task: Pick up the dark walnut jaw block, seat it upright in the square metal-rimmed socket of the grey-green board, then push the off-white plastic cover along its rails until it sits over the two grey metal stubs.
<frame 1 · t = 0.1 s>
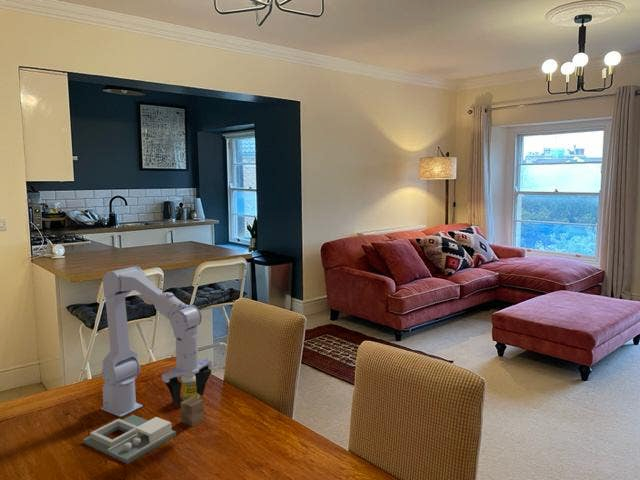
hand: (188, 398, 138), 10 cm above the table, fingers open, 7 cm apart
cover: (153, 429, 136), point 2 cm above the table, slide at 7.0 cm
housing board: (130, 438, 136), on the table
jaw block: (192, 420, 146), on the table
supplement bottle: (190, 398, 161), on the table
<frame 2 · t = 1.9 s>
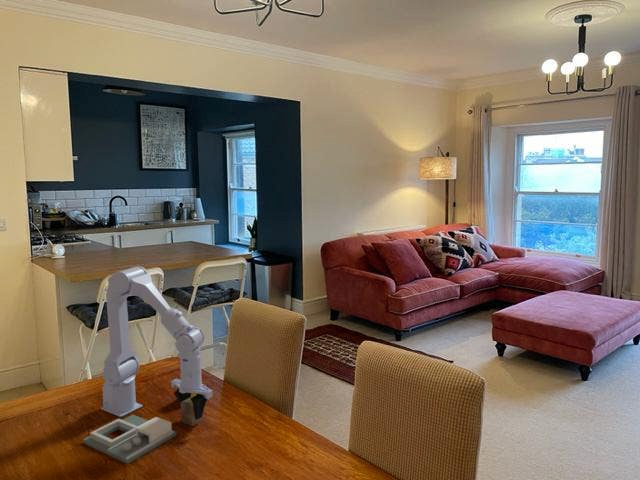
hand: (192, 415, 146), 2 cm above the table, fingers closed on jaw block, 4 cm apart
jaw block: (192, 420, 146), on the table, touching gripper
everything else where it was.
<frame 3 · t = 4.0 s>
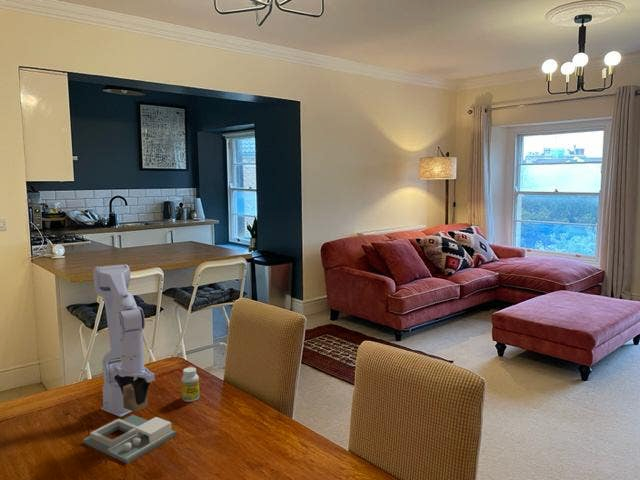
hand: (134, 400, 138), 10 cm above the table, fingers closed on jaw block, 4 cm apart
jaw block: (135, 406, 138), point 8 cm above the table, touching gripper
everything else where it was.
when the fingers open (4 cm above the table, at t = 6.0 s): jaw block drops 2 cm, resting in housing board.
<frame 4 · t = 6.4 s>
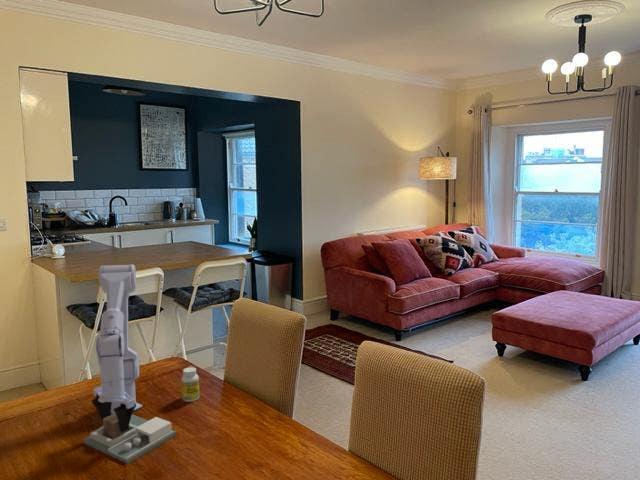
hand: (115, 426, 136), 4 cm above the table, fingers open, 7 cm apart
jaw block: (116, 438, 137), resting in housing board
everything else where it was.
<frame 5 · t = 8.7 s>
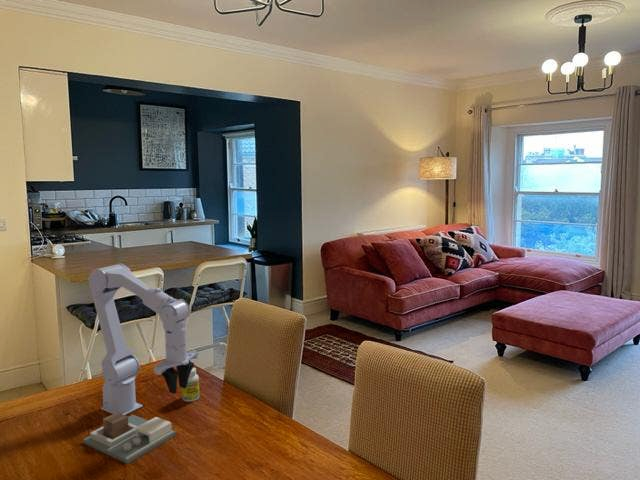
hand: (177, 389, 143), 10 cm above the table, fingers open, 3 cm apart
nothing on the table moved.
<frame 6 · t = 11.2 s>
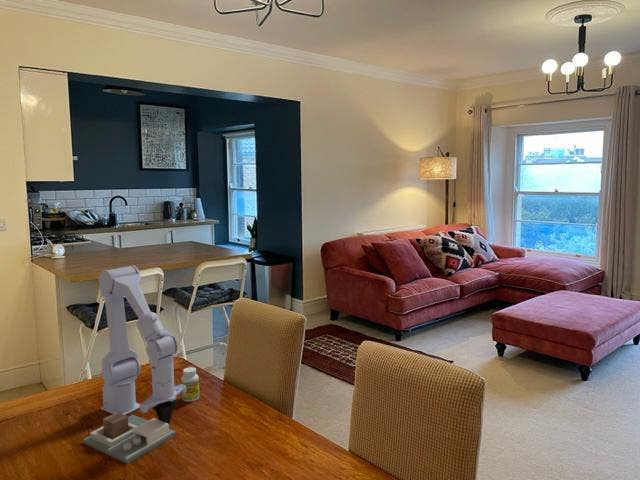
hand: (165, 425, 140), 2 cm above the table, fingers closed
cover: (151, 431, 136), point 2 cm above the table, slide at 6.2 cm, touching gripper
everything else where it was.
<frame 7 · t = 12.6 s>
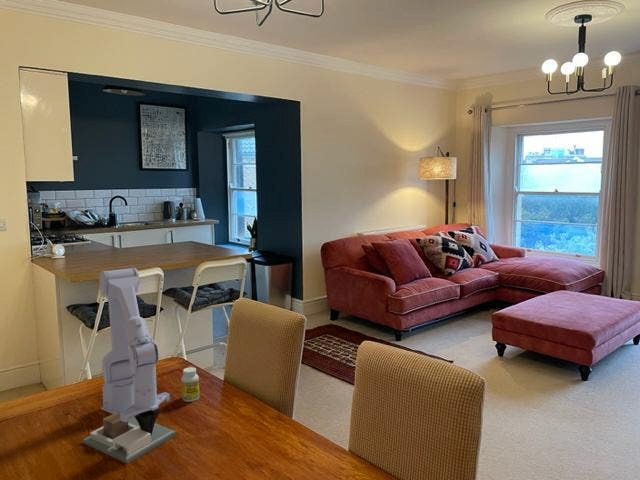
hand: (147, 435, 135), 2 cm above the table, fingers closed
cover: (132, 441, 131), point 2 cm above the table, slide at 0.1 cm, touching gripper
everything else where it was.
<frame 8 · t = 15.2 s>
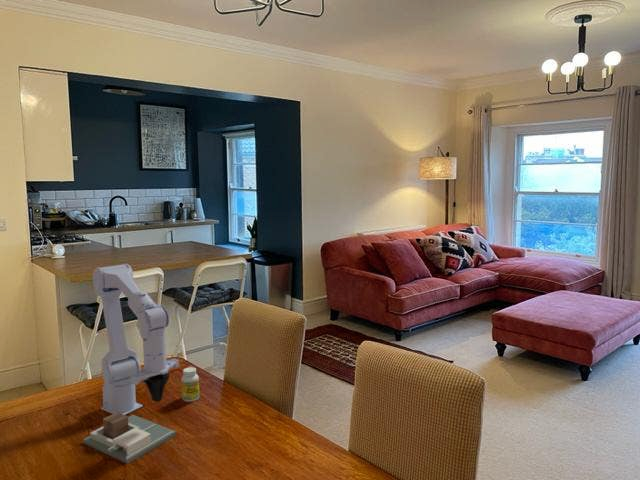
hand: (156, 400, 136), 10 cm above the table, fingers closed
cover: (132, 441, 131), point 2 cm above the table, slide at 0.1 cm
everything else where it was.
at the end: jaw block 0.3 cm from the target spot on the housing board, point 0.0 cm above the housing board's base; jaw block tilted 0°; cover slide at 0.1 cm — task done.
